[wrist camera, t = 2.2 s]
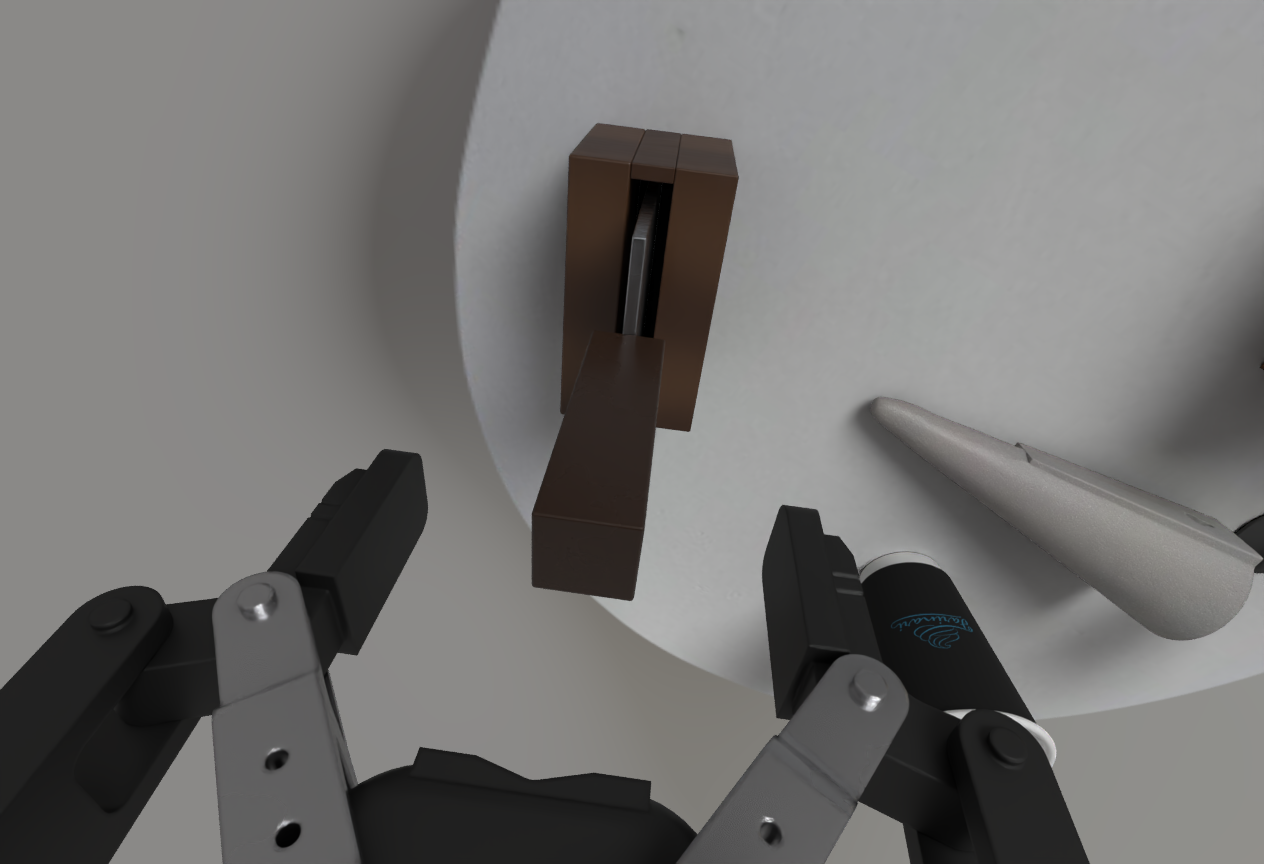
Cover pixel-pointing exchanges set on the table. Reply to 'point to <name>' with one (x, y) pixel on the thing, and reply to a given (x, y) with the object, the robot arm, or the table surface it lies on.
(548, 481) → the knife
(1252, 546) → the sundae
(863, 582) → the dixie cup
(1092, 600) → the table surface
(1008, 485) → the long tapered cone
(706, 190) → the knife stand
